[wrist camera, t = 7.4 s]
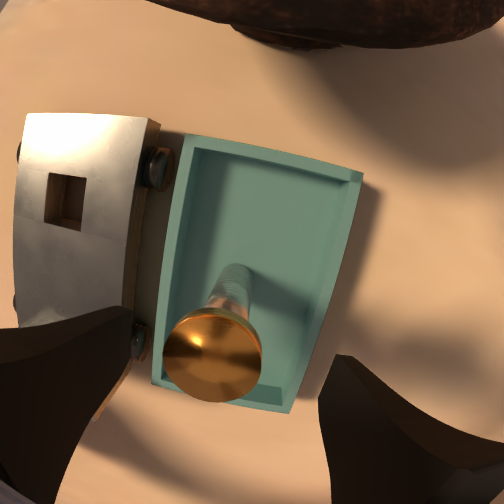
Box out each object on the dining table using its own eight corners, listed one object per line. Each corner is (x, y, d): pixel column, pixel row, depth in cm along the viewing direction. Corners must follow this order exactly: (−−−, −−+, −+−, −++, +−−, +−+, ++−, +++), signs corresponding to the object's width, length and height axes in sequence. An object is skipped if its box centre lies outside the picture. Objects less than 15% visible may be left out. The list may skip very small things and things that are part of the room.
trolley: (149, 365, 20) (110, 429, 13) (33, 321, 20) (-19, 359, 13) (182, 129, 16) (133, 100, 10) (45, 119, 16) (-25, 107, 10)
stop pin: (258, 310, 18) (251, 409, 10) (205, 299, 18) (160, 390, 10) (269, 258, 17) (271, 332, 9) (213, 247, 17) (165, 310, 9)
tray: (287, 391, 20) (288, 413, 17) (162, 363, 20) (151, 383, 17) (350, 174, 17) (363, 173, 14) (196, 139, 16) (185, 133, 14)
